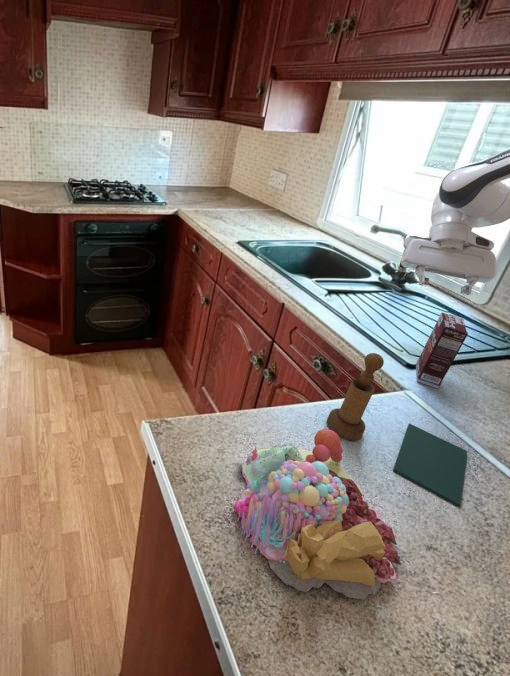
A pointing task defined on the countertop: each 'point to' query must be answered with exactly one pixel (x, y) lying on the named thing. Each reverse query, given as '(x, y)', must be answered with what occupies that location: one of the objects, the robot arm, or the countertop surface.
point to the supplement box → (440, 350)
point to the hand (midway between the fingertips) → (444, 289)
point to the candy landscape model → (315, 520)
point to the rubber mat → (432, 464)
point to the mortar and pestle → (355, 402)
